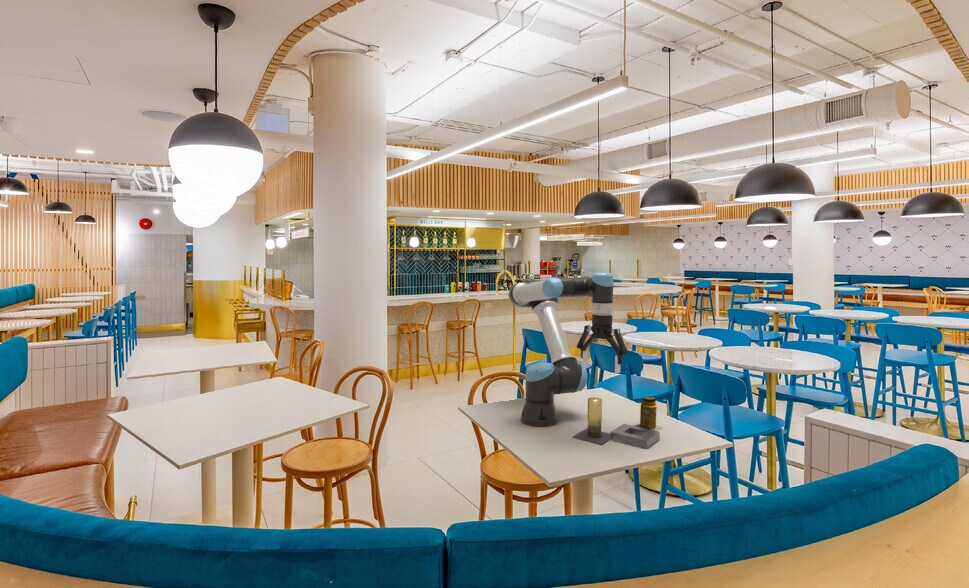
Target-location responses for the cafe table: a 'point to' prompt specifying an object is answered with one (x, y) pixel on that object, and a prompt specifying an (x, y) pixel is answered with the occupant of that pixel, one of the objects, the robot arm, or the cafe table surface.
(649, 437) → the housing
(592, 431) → the gold rounded cylinder
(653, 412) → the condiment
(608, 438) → the mat
